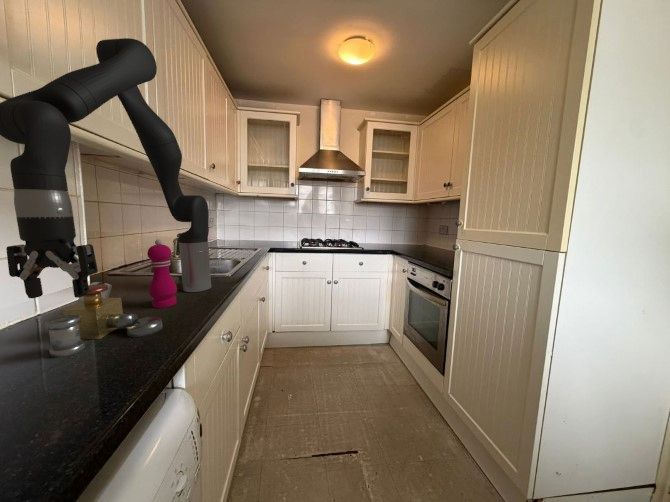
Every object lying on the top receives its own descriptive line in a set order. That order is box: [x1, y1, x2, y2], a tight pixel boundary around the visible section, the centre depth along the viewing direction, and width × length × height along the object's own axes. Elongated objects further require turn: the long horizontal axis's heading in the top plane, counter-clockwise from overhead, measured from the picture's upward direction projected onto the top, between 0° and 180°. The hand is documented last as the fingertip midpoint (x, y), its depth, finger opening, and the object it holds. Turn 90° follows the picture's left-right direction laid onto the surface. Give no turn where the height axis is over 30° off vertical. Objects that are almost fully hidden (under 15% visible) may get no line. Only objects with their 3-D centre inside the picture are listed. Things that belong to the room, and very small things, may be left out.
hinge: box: [76, 281, 113, 304], centre depth 74 cm, size 17×5×10 cm, turn 27°
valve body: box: [61, 283, 163, 340], centre depth 65 cm, size 8×18×11 cm, turn 94°
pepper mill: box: [147, 238, 178, 309], centre depth 82 cm, size 7×7×20 cm
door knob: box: [44, 314, 86, 359], centre depth 56 cm, size 5×5×7 cm
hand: (58, 296), depth 55 cm, fingers open, 8 cm apart
